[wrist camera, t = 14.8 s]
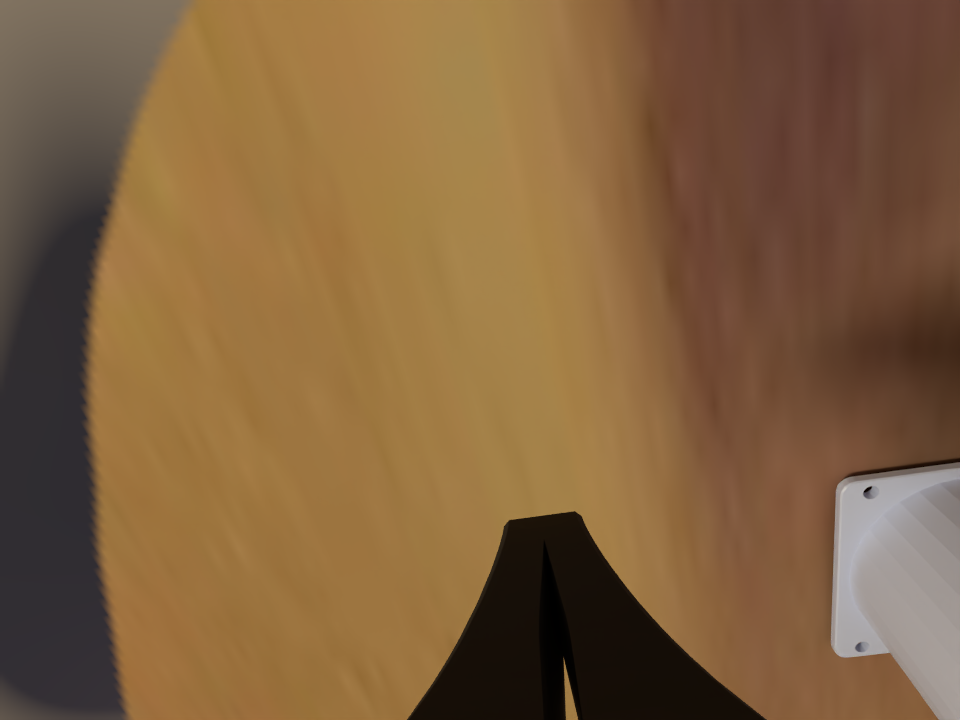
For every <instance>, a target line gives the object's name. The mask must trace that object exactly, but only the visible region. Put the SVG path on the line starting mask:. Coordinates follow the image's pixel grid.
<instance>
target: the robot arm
mask: <svg viewBox="0 0 960 720" xmlns="http://www.w3.org/2000/svg"><path fill="white" fill-rule="evenodd" d="M870 486H872V489H871V490H869V491H868V492H865V493H863V492H864V490H865V489H866V488H867V487H870ZM860 642H861V643H860ZM858 643H859V644H858ZM831 646H832V648H833V649H834V651H835V653H836V654H837V655H838V656H841V657H856V656H865V655H874V654H883V653H891V654H892V656H893V657H894V659H895V660H896V661H897V663H898V664H899V665H900V667H901V668H902V670H903V671H904V672H905V674H906V675H907V677H908V678H909V679H910V681H911V682H912V683H913V685H914V686H915V688H916V689H917V690H918V692H919V693H920V694H921V696H922V697H923V699H924V700H925V701H926V703H927V704H928V705H929V707H930V708H931V710H932V711H933V712H934V714H935V715H936V716H937V718H938V719H939V720H960V462H957V463H950V464H942V465H935V466H928V467H920V468H913V469H905V470H898V471H890V472H883V473H875V474H868V475H860V476H853V477H849V478H845V479H844V480H843V481H841V482H840V483H839V485H838V486H837V489H836V507H835V536H834V565H833V594H832V623H831ZM563 656H564V659H563ZM564 660H565V665H566V669H567V673H568V678H569V682H570V686H571V690H572V695H573V699H574V703H575V708H576V712H577V716H578V720H766V719H765V718H764V717H762V716H761V715H760V714H759V713H757V712H756V711H755V710H753V709H752V708H751V707H750V706H748V705H747V704H746V703H745V702H743V701H742V700H741V699H740V698H738V697H737V696H736V695H735V694H733V693H732V692H731V691H730V690H728V689H727V688H726V687H725V686H723V685H722V684H721V683H720V682H718V681H717V680H716V679H715V678H714V677H712V676H711V675H710V674H709V673H708V672H707V671H706V670H705V669H704V668H703V667H701V666H700V665H699V664H698V663H697V662H696V661H695V660H694V659H693V658H691V657H690V656H689V655H688V654H687V653H686V652H685V651H684V650H683V649H682V648H681V647H680V646H679V645H678V644H677V643H676V642H675V641H674V640H673V639H672V638H671V637H670V636H669V635H668V634H667V633H666V632H665V631H664V630H663V629H662V628H661V627H660V626H659V624H658V623H657V622H656V621H655V620H654V619H653V618H652V617H651V616H650V615H649V613H648V612H647V611H646V610H645V609H644V608H643V607H642V605H641V604H640V603H639V602H638V601H637V600H636V598H635V597H634V596H633V595H632V593H631V592H630V591H629V590H628V589H627V587H626V586H625V585H624V583H623V582H622V581H621V579H620V578H619V577H618V575H617V574H616V573H615V571H614V570H613V569H612V567H611V566H610V565H609V563H608V562H607V560H606V559H605V557H604V556H603V554H602V553H601V551H600V550H599V548H598V547H597V545H596V544H595V542H594V540H593V539H592V537H591V535H590V533H589V531H588V530H587V528H586V526H585V524H584V521H583V519H582V516H581V515H579V514H578V513H576V512H575V511H574V512H567V513H559V514H552V515H545V516H537V517H530V518H522V519H515V520H509V521H508V522H507V524H506V525H505V526H504V530H503V535H502V539H501V542H500V546H499V549H498V552H497V555H496V558H495V561H494V564H493V566H492V569H491V572H490V574H489V577H488V579H487V581H486V584H485V586H484V589H483V591H482V593H481V596H480V598H479V600H478V603H477V605H476V607H475V609H474V611H473V613H472V615H471V617H470V619H469V621H468V623H467V625H466V627H465V629H464V631H463V633H462V635H461V637H460V639H459V640H458V642H457V644H456V646H455V648H454V649H453V651H452V653H451V655H450V656H449V658H448V660H447V661H446V663H445V665H444V666H443V668H442V669H441V671H440V673H439V674H438V676H437V677H436V679H435V681H434V682H433V684H432V685H431V687H430V688H429V689H428V691H427V692H426V694H425V695H424V697H423V698H422V699H421V701H420V702H419V704H418V705H417V707H416V708H415V709H414V711H413V712H412V714H411V715H410V716H409V718H408V719H407V720H566V712H565V685H564Z"/></svg>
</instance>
